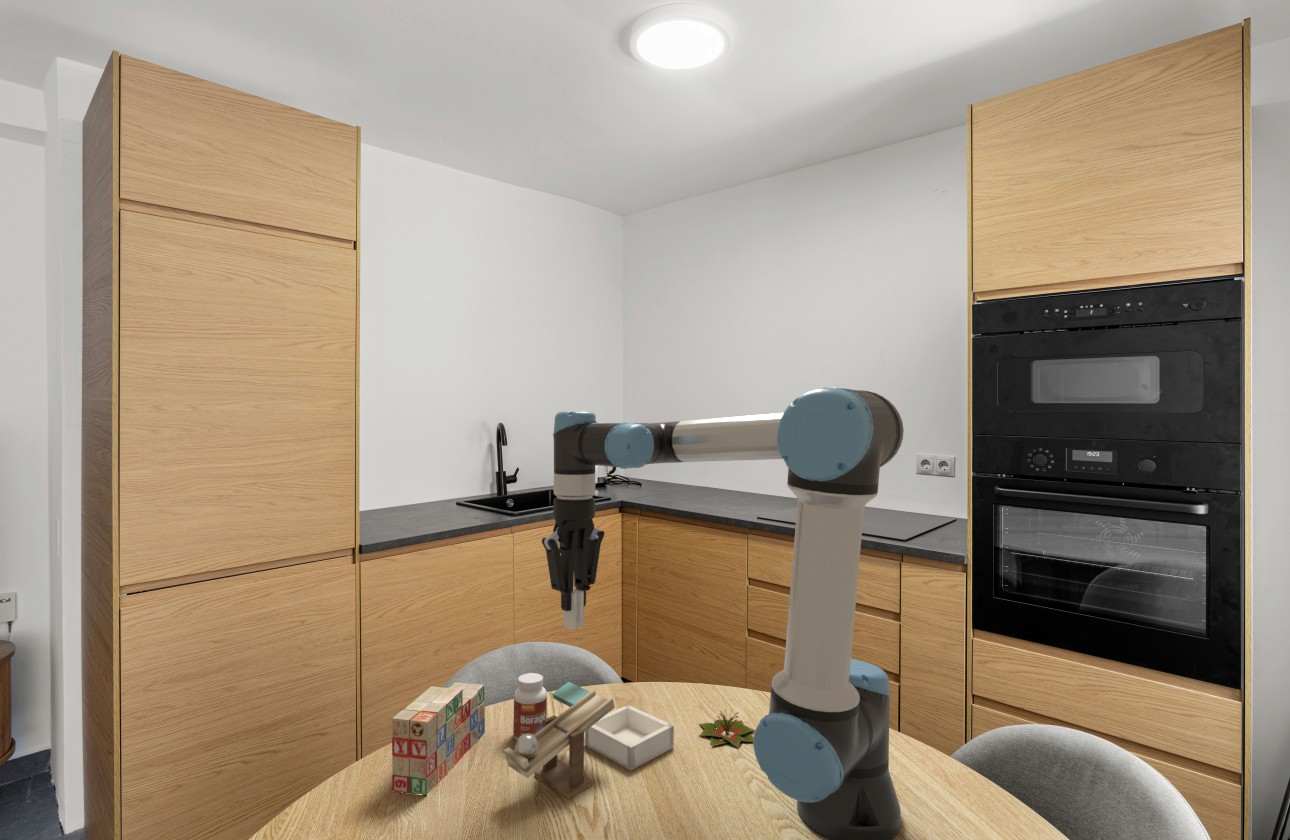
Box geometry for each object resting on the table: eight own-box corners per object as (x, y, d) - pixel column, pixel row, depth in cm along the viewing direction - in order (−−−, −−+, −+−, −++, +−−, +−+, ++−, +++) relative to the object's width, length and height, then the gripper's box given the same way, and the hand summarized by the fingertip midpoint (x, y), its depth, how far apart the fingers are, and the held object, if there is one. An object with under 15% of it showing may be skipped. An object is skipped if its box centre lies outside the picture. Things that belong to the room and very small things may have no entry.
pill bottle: (518, 747, 118) (518, 686, 118) (509, 732, 123) (510, 674, 123) (550, 740, 121) (551, 680, 120) (541, 725, 126) (541, 669, 126)
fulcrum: (592, 785, 106) (592, 729, 106) (568, 798, 102) (568, 740, 102) (557, 764, 112) (558, 711, 112) (534, 775, 109) (534, 721, 108)
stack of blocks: (455, 729, 125) (455, 666, 124) (485, 732, 123) (485, 668, 123) (391, 793, 104) (391, 716, 103) (427, 798, 102) (427, 720, 102)
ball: (544, 755, 102) (541, 733, 102) (525, 767, 100) (523, 745, 99) (530, 746, 105) (528, 726, 104) (512, 758, 102) (509, 737, 102)
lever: (616, 708, 112) (612, 693, 111) (528, 779, 99) (524, 763, 98) (569, 686, 121) (566, 673, 120) (484, 749, 107) (480, 734, 107)
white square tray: (673, 747, 118) (673, 725, 118) (630, 770, 110) (631, 747, 110) (627, 725, 127) (627, 704, 126) (584, 745, 119) (585, 723, 119)
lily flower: (688, 724, 128) (689, 701, 128) (746, 719, 130) (746, 696, 130) (706, 755, 116) (706, 730, 116) (769, 749, 119) (769, 724, 119)
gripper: (589, 491, 124) (589, 613, 125) (530, 498, 114) (529, 630, 115) (616, 495, 119) (615, 622, 119) (556, 502, 109) (555, 641, 109)
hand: (573, 626), depth 117 cm, fingers closed
